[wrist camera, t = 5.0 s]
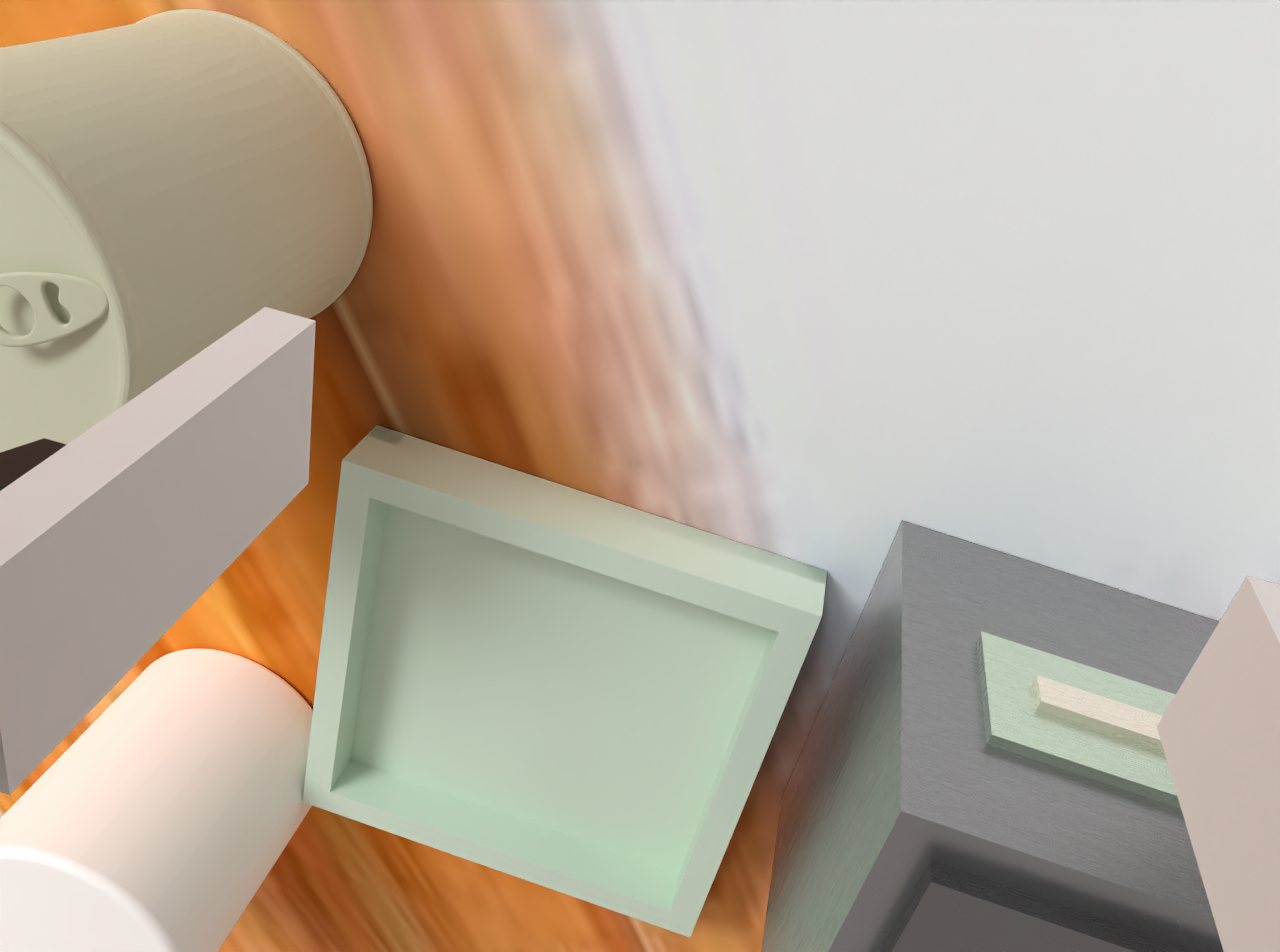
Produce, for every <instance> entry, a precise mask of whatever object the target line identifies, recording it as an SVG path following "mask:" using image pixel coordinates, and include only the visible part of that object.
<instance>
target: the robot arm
mask: <svg viewBox="0 0 1280 952" xmlns="http://www.w3.org/2000/svg"><path fill="white" fill-rule="evenodd" d="M315 326H316V321H315V320H311V319H308V318H304V317H300V316H297V315H293V314H289V313H286V312H282V311H278V310H275V309H271V308H268V307H264V308H263V309H261V310H260V311H259V312H257V313H256V314H254V315H253V316H251V317H250V318H248V319H247V320H246V321H244V322H243V323H241V324H240V325H238V326H237V327H236V328H234V329H233V330H231V331H230V332H228V333H227V334H225V335H224V336H223V337H221V338H220V339H218V340H217V341H215V342H214V343H213V344H211V345H210V346H208V347H207V348H205V349H204V350H202V351H201V352H200V353H198V354H197V355H195V356H194V357H192V358H191V359H190V360H188V361H187V362H185V363H184V364H182V365H181V366H179V367H178V368H177V369H175V370H174V371H172V372H171V373H169V374H168V375H166V376H165V377H164V378H162V379H161V380H159V381H158V382H156V383H155V384H154V385H152V386H151V387H149V388H148V389H146V390H145V391H143V392H142V393H141V394H139V395H138V396H136V397H135V398H133V399H132V400H131V401H129V402H128V403H126V404H125V405H123V406H122V407H120V408H119V409H118V410H116V411H115V412H113V413H112V414H110V415H109V416H108V417H106V418H105V419H103V420H102V421H100V422H99V423H97V424H96V425H95V426H93V427H92V428H90V429H89V430H87V431H86V432H85V433H83V434H82V435H80V436H79V437H77V438H76V439H74V440H73V441H72V442H70V443H69V444H67V445H66V444H63V443H60V442H56V441H53V440H49V439H46V438H43V439H40V440H37V441H34V442H31V443H28V444H25V445H22V446H19V447H16V448H13V449H10V450H7V451H4V452H1V453H0V792H2V793H6V794H9V795H10V794H11V793H12V792H13V791H14V790H15V789H16V788H17V787H18V786H19V785H20V784H21V783H22V782H23V781H24V780H25V779H26V778H27V777H28V776H29V775H30V774H31V772H32V771H33V770H34V769H35V768H36V767H37V766H38V765H39V764H40V763H41V762H42V761H43V760H44V759H45V758H46V757H47V756H48V755H49V754H50V753H51V752H52V751H53V749H54V748H55V747H56V746H57V745H58V744H59V743H60V742H61V741H62V740H63V739H64V738H65V737H66V736H67V735H68V734H69V733H70V732H71V731H72V730H73V729H74V728H75V727H76V725H77V724H78V723H79V722H80V721H81V720H82V719H83V718H84V717H85V716H86V715H87V714H88V713H89V712H90V711H91V710H92V709H93V708H94V707H95V706H96V705H97V704H98V703H99V701H100V700H101V699H102V698H103V697H104V696H105V695H106V694H107V693H108V692H109V691H110V690H111V689H112V688H113V687H114V686H115V685H116V684H117V683H118V682H119V681H120V680H121V678H122V677H123V676H124V675H125V674H126V673H127V672H128V671H129V670H130V669H131V668H132V667H133V666H134V665H135V664H136V663H137V662H138V661H139V660H140V659H141V658H142V657H143V656H144V654H145V653H146V652H147V651H148V650H149V649H150V648H151V647H152V646H153V645H154V644H155V643H156V642H157V641H158V640H159V639H160V638H161V637H162V636H163V635H164V634H165V633H166V632H167V630H168V629H169V628H170V627H171V626H172V625H173V624H174V623H175V622H176V621H177V620H178V619H179V618H180V617H181V616H182V615H183V614H184V613H185V612H186V611H187V610H188V609H189V607H190V606H191V605H192V604H193V603H194V602H195V601H196V600H197V599H198V598H199V597H200V596H201V595H202V594H203V593H204V592H205V591H206V590H207V589H208V588H209V587H210V586H211V585H212V583H213V582H214V581H215V580H216V579H217V578H218V577H219V576H220V575H221V574H222V573H223V572H224V571H225V570H226V569H227V568H228V567H229V566H230V565H231V564H232V563H233V562H234V561H235V559H236V558H237V557H238V556H239V555H240V554H241V553H242V552H243V551H244V550H245V549H246V548H247V547H248V546H249V545H250V544H251V543H252V542H253V541H254V540H255V539H256V538H257V536H258V535H259V534H260V533H261V532H262V531H263V530H264V529H265V528H266V527H267V526H268V525H269V524H270V523H271V522H272V521H273V520H274V519H275V518H276V517H277V516H278V515H279V514H280V512H281V511H282V510H283V509H284V508H285V507H286V506H287V505H288V504H289V503H290V502H291V501H292V500H293V499H294V498H295V497H296V496H297V495H298V494H299V493H300V492H301V491H302V490H303V488H304V487H305V486H306V485H307V484H308V482H309V459H310V437H311V415H312V393H313V370H314V348H315ZM1157 729H1158V732H1159V736H1160V739H1161V743H1162V746H1163V749H1164V753H1165V756H1166V759H1167V763H1168V766H1169V769H1170V773H1171V776H1172V780H1173V783H1174V786H1175V790H1176V793H1177V796H1178V800H1179V803H1180V806H1181V810H1182V813H1183V816H1184V820H1185V823H1186V827H1187V830H1188V833H1189V837H1190V840H1191V843H1192V847H1193V850H1194V853H1195V857H1196V860H1197V864H1198V867H1199V870H1200V874H1201V877H1202V880H1203V884H1204V887H1205V890H1206V894H1207V897H1208V900H1209V904H1210V907H1211V911H1212V914H1213V917H1214V921H1215V924H1216V927H1217V931H1218V934H1219V937H1220V941H1221V944H1222V948H1223V951H1224V952H1280V585H1278V584H1275V583H1271V582H1267V581H1264V580H1260V579H1256V578H1253V577H1249V576H1247V577H1246V578H1245V580H1244V582H1243V583H1242V585H1241V587H1240V588H1239V590H1238V592H1237V593H1236V595H1235V597H1234V598H1233V600H1232V602H1231V603H1230V605H1229V607H1228V608H1227V610H1226V612H1225V613H1224V615H1223V617H1222V618H1221V620H1220V622H1219V623H1218V625H1217V627H1216V628H1215V630H1214V632H1213V633H1212V635H1211V637H1210V638H1209V640H1208V642H1207V643H1206V645H1205V647H1204V648H1203V650H1202V652H1201V653H1200V655H1199V657H1198V658H1197V660H1196V662H1195V663H1194V665H1193V667H1192V668H1191V670H1190V672H1189V673H1188V675H1187V677H1186V678H1185V680H1184V682H1183V683H1182V685H1181V687H1180V688H1179V690H1178V692H1177V693H1176V695H1175V697H1174V699H1173V700H1172V702H1171V704H1170V705H1169V707H1168V709H1167V710H1166V712H1165V714H1164V715H1163V717H1162V719H1161V720H1160V722H1159V724H1158V725H1157Z"/></svg>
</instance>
